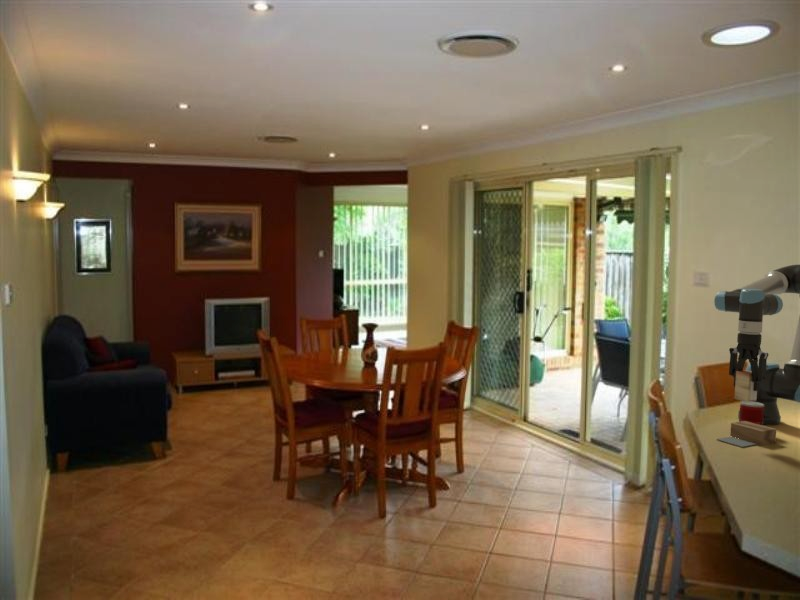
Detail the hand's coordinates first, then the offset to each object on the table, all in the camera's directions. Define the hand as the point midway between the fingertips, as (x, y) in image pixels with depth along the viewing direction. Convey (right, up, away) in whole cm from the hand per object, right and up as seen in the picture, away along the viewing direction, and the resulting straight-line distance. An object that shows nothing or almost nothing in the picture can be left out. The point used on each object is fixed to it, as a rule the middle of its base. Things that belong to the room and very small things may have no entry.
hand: (745, 397), depth 239 cm
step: (+5, -16, +4) cm, 17 cm away
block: (0, -1, 0) cm, 1 cm away
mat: (-3, -16, 0) cm, 16 cm away
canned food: (+9, -15, +14) cm, 23 cm away
